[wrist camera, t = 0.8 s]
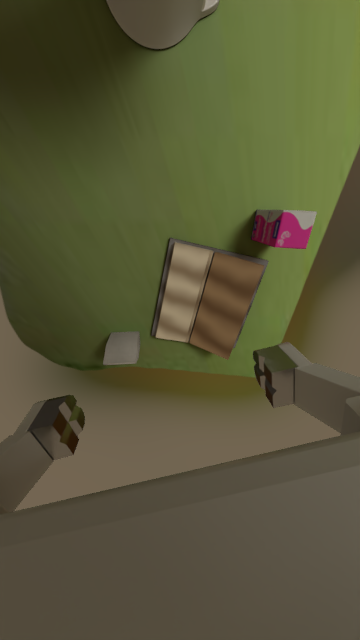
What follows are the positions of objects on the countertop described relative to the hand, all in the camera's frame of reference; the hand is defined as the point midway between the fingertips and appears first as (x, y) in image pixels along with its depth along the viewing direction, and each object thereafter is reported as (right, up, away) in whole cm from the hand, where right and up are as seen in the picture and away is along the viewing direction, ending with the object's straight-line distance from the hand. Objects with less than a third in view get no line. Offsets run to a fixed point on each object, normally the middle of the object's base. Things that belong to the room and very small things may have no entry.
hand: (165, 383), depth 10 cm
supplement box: (+18, +23, +36) cm, 46 cm away
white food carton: (-13, -2, +45) cm, 47 cm away
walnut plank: (+10, +6, +39) cm, 41 cm away
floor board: (+7, +8, +42) cm, 43 cm away
